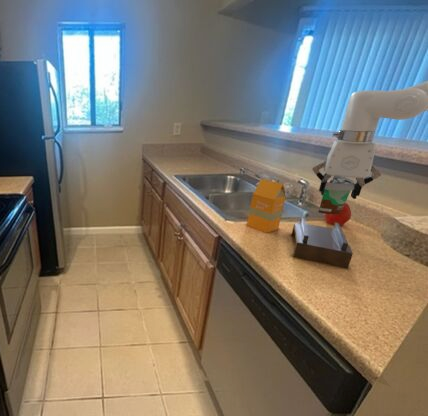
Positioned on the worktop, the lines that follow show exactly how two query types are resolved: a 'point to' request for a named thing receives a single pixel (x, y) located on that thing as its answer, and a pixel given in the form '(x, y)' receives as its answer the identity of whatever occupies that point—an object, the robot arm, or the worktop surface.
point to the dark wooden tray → (321, 244)
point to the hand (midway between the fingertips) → (337, 195)
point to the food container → (336, 195)
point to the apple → (339, 216)
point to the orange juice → (267, 206)
